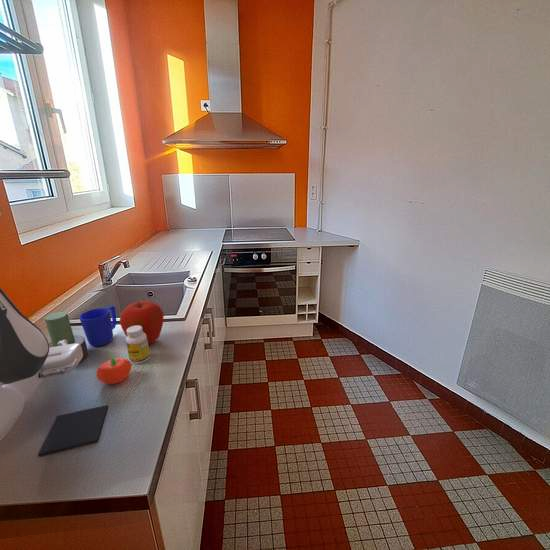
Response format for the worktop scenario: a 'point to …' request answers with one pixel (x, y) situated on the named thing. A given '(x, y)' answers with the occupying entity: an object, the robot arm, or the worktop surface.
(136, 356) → the supplement bottle
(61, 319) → the stacking piece
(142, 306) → the apple
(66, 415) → the mat
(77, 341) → the plinth
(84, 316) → the mug
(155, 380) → the worktop surface
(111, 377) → the pumpkin
